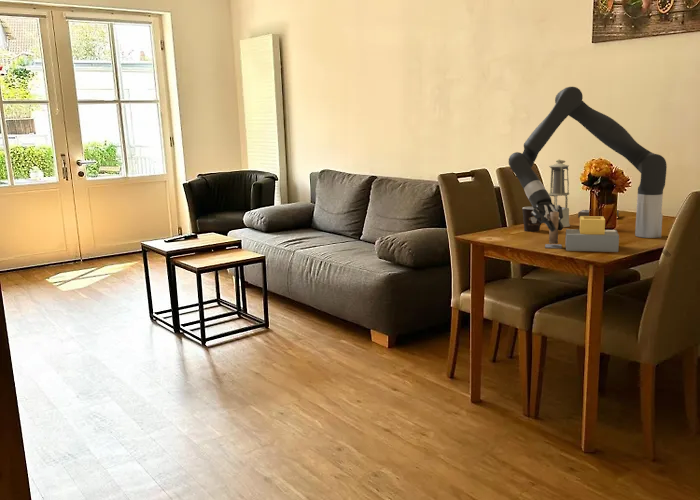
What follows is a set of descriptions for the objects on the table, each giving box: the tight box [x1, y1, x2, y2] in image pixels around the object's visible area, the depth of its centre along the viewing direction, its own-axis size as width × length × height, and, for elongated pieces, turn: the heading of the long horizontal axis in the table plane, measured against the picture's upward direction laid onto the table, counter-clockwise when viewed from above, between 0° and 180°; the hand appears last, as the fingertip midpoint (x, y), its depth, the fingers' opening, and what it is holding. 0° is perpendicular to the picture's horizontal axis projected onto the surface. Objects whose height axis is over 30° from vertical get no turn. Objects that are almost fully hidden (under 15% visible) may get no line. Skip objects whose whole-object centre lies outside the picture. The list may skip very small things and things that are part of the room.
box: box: [577, 209, 620, 219], centre depth 311 cm, size 11×17×3 cm, turn 60°
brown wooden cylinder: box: [548, 211, 559, 244], centre depth 243 cm, size 3×3×12 cm
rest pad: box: [544, 243, 562, 250], centre depth 244 cm, size 6×6×1 cm
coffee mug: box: [521, 206, 543, 233], centre depth 279 cm, size 12×9×10 cm
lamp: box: [548, 159, 571, 228], centre depth 289 cm, size 10×13×30 cm
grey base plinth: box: [564, 216, 620, 253], centre depth 239 cm, size 18×12×12 cm, turn 73°
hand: (557, 229), depth 241 cm, fingers closed on brown wooden cylinder, 3 cm apart
